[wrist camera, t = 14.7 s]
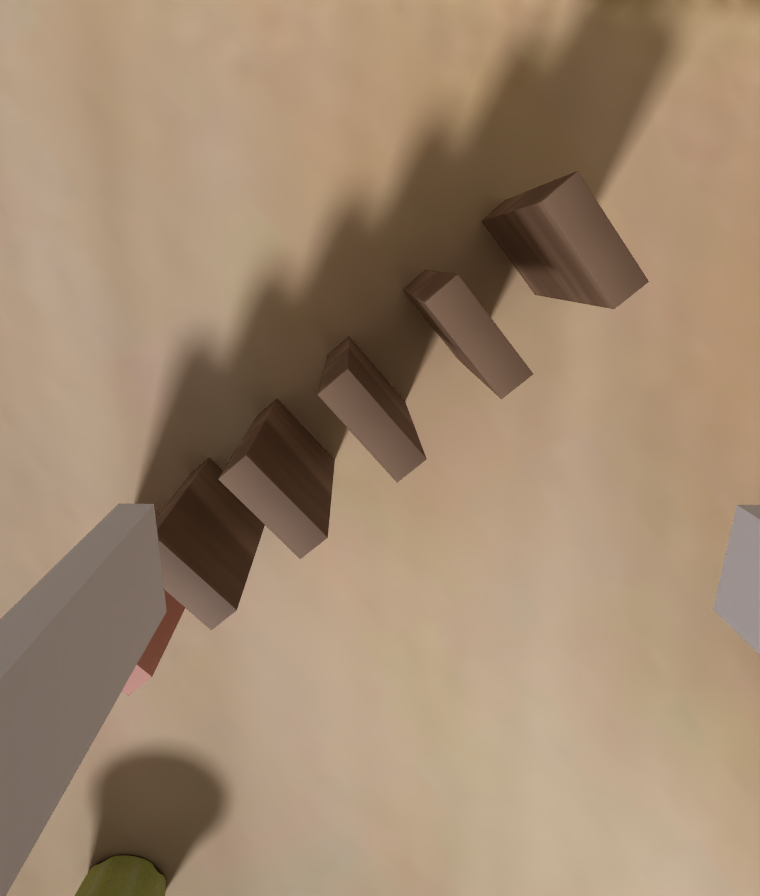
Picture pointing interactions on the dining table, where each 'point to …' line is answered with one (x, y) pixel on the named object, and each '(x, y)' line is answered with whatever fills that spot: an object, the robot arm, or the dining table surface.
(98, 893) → the plant pot
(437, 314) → the domino
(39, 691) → the robot arm
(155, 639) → the domino
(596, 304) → the domino
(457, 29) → the dining table surface
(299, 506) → the domino
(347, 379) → the domino
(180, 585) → the domino
